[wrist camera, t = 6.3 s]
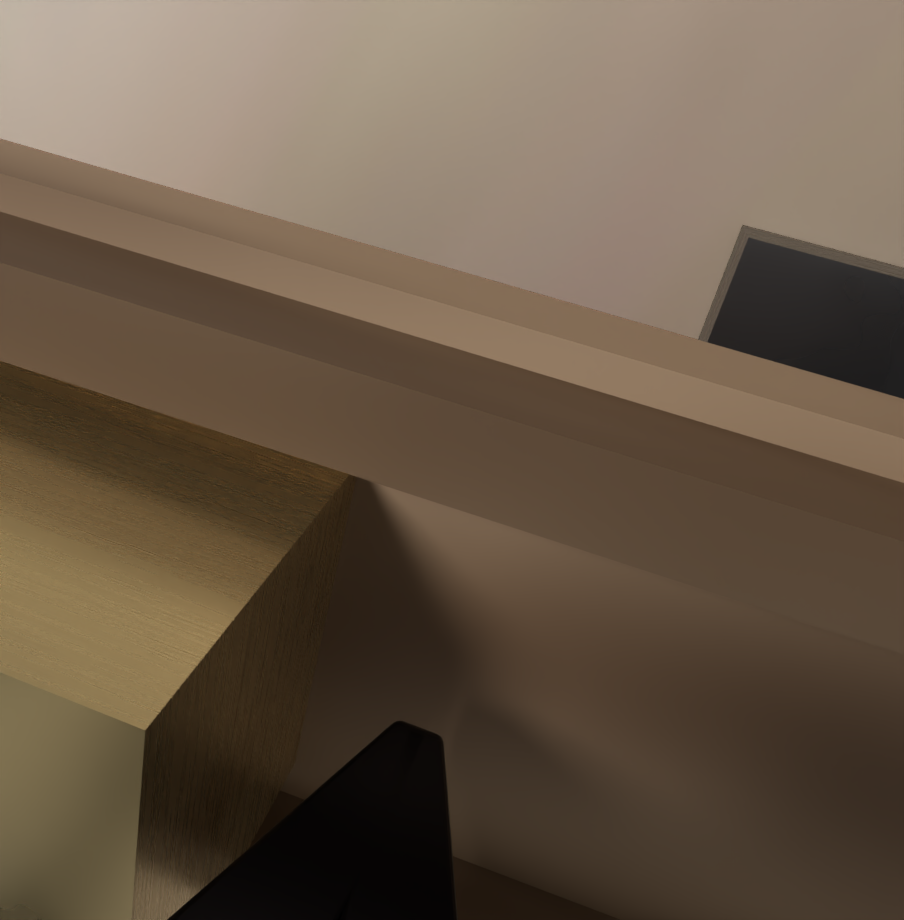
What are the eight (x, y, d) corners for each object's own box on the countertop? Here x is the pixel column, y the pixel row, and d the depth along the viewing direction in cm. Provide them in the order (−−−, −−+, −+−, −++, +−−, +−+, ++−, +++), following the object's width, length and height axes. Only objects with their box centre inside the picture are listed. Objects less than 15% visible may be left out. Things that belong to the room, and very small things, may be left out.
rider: (294, 764, 11) (119, 1085, 8) (-22, 638, 12) (-323, 885, 8) (359, 461, 9) (145, 731, 5) (-44, 319, 9) (-489, 476, 6)
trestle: (911, 848, 17) (1021, 1201, 12) (548, 724, 18) (499, 1001, 13) (1355, 291, 11) (1987, 506, 6) (774, 143, 12) (862, 212, 7)
